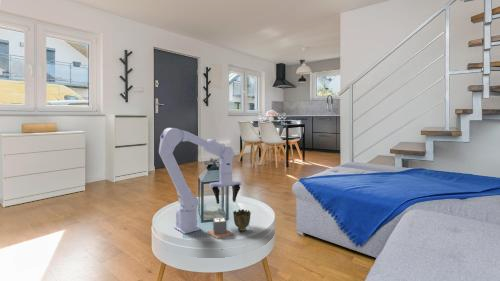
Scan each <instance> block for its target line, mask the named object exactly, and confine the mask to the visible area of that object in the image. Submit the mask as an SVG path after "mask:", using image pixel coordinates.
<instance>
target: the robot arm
mask: <svg viewBox="0 0 500 281" xmlns="http://www.w3.org/2000/svg"><path fill="white" fill-rule="evenodd" d="M159 139H160V141H159V147H158V154H159V156H160V159H161V160H162V162H163V164H164V167H165V168H166V170H167V173H168V175H169V177H170V179H171V181H172V183H173V185H174V187H175V189H176V193H177V195H178V197H177V199H178V203H179V204H180V206H179V207H178V208H177V210H176V212H175V220H176V221H175V226H174V229H176V230H177V231H179V232H180V233H182V234H183V235H186V234H189V233H192V232H196V231H200V230H202V227H200V226H198V206H199V199H198V197H197V196H196V195H194V194H193V191H192V190H191V189H190V187H189V185H188V184H187V181H186V179H185V177H184V174H183V173H182V170H181V169H180V166H179V165H178V162H177V160H176V158H175V156H174V150H175V148H176V146H177V145H179V144H180V143H181V142H190V143H192V144H194V145H198V146H200V147H202V148H203V150H204V152H206V153H209V154H211V155H214V156H216V157H218V158H219V181H216V182H215V181H214V182H210V183H209V188H210V189H211V190H212V192H213V194H214V196H215V200H216V204H220V189H219V188H224V187H225V188H226V187H231V190H232V202H233V203H235V202H236V201H237V197H238V193H239V191H240V189H241V186H242V184H243V182H242V180H233V158H234V157H235V152H234V151H235V150H234V149H233V148H232V147H230V146H228V145H226V143H223V142H222V143H221V142H219V141H216V140H217V139H215V138H212V139H211V138H208V139H204V138H202V137H200V136H198V135H196V134H193V133H191V132H189V131H187V130H183V129H179V128H178V127H177V128H176V127H166V128H165V129H164V130H162V133H161V134H160V136H159Z"/></svg>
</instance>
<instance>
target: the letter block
mask: <svg viewBox="0 0 500 281" xmlns="http://www.w3.org/2000/svg"><path fill="white" fill-rule="evenodd" d="M212 230H213V232H214V235H217V234H227V230H228V229H227V220H226V218H225V217H215V218H212Z"/></svg>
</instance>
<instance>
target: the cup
mask: <svg viewBox="0 0 500 281" xmlns="http://www.w3.org/2000/svg"><path fill="white" fill-rule="evenodd" d="M232 214H233V223H234V225H235V227H237V230H238V232H246V230H247V227H248V226H249V225H250V221H251V214H252V211H250V210H247V209H246V210H244V209H238V210H234V211H233V212H232Z"/></svg>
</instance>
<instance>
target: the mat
mask: <svg viewBox="0 0 500 281" xmlns="http://www.w3.org/2000/svg"><path fill="white" fill-rule="evenodd" d="M205 233H206V234H208V235H209V236H211V237H212V238H215V239H217V240H219V239H221V238H224V237H227V236H231V235H233V234H234V231H231V230H229V229H227V234H217V235H214V232H213V229H210V230H208V231H206V232H205Z"/></svg>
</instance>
